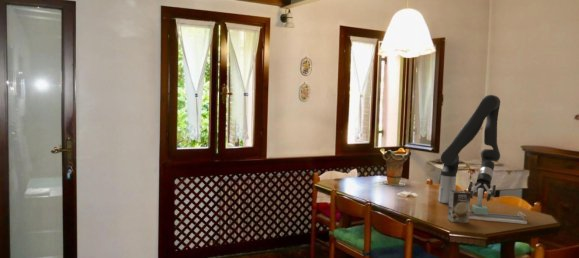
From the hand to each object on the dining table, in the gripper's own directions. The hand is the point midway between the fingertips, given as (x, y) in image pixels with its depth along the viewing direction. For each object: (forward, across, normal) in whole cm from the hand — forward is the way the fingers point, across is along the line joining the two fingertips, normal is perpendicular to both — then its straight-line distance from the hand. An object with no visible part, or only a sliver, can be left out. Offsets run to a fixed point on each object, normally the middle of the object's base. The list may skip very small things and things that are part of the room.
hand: (479, 199), depth 249 cm
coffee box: (+20, -7, -5) cm, 22 cm away
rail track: (+5, +8, +10) cm, 13 cm away
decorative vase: (-36, -72, +50) cm, 95 cm away
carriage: (+5, +1, +5) cm, 8 cm away
